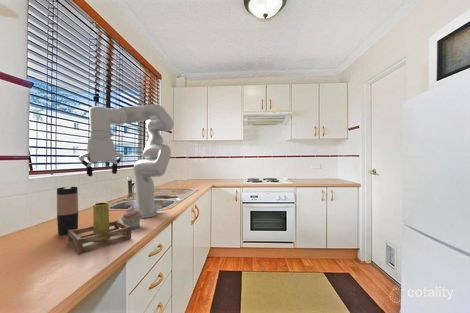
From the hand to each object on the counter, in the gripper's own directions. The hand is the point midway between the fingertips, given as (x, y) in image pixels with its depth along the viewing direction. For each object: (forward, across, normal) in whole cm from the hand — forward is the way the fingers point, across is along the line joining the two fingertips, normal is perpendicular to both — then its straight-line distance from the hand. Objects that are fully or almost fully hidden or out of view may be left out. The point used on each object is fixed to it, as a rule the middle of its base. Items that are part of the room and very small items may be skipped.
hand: (102, 174), depth 98 cm
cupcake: (+27, -11, +2) cm, 29 cm away
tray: (+26, +5, +9) cm, 28 cm away
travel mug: (+26, +10, -14) cm, 31 cm away
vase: (+25, +5, +9) cm, 27 cm away
